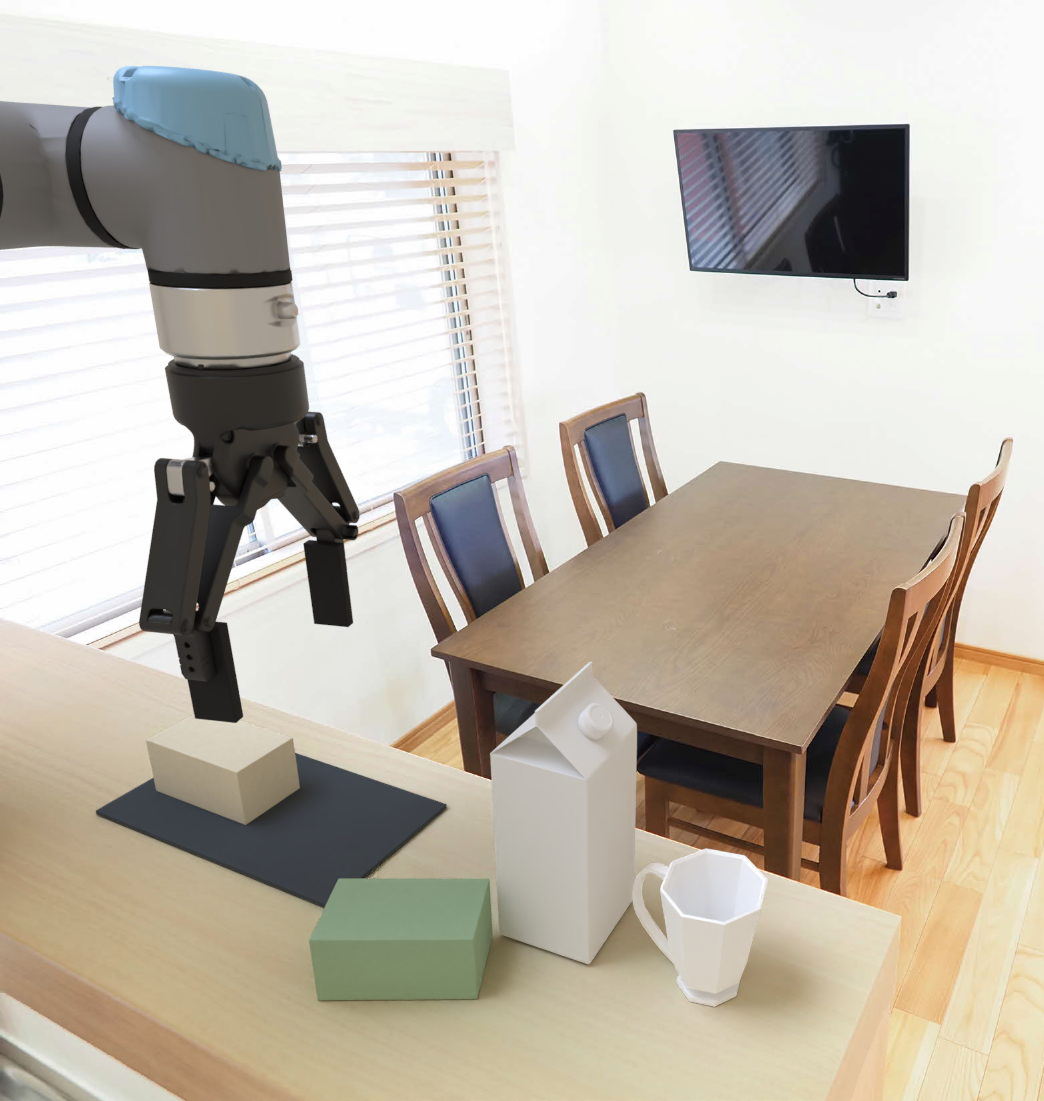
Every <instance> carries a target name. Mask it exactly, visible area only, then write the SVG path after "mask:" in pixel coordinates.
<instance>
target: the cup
mask: <svg viewBox="0 0 1044 1101" xmlns="http://www.w3.org/2000/svg"><path fill="white" fill-rule="evenodd" d="M647 874H654V876H656V877H658V878H659V879H661V881H662V883H661V886H660V888H659V894H660V902H661V908H662V912H663V919H664V926H665V933H666V935H665V934H664V933H663V932H662V930H661V929H660V927H659V926H658V924H657V923H656V922H655V920H654V919H653V917H652V916H651V914H650V912H649V910H648V909H647V907H646V905H645V901H644V897H643V887H644V881H645V879H646V875H647ZM635 875H636V876H635V877H634V884H633V890H632V906H633V910H634V913H635V915H636V917H637V918H638V920H639V922H640V924H641V926H642V927H643V929H644V930H645V931H646V933H647V934H648V935H649V938H651V940H652V941H653V942H654V944H655V945H656V947H658V949H659V950H660V951H661V952H662V953H663V955H664V956H665V957H666V958H667V959H668V960H669V961H670V962H671V963H672V965H673V966H674V969H675V972H676V973H677V974H678V975H677V977H676V986H678V988H679V989H680V991H681V992H682V993H683V995H684V996H685V997H686V999H687V1000H688V1002H691V1003H693V1004H694V1003H696V1004H698V1005H699V1004H700V1005H705V1006H710V1007H714V1008H715V1007H717V1006H719V1005H722V1004H723V1003H725V1002H727V1001H730V1000H731V999H733V998H735V997H737V995H738V991H739V987H740V983H741V979H742V976H743V974H744V971H745V969H746V966H747V964H748V960H749V956H750V952H751V949H752V945H753V941H754V937H755V933H756V929H757V927H758V926H757V925H758V921H759V918H760V914H761V910H762V906H763V903H764V898H765V894H766V892H767V888H768V887H767V886H768V882H769V878H767V877H766V876H765V875H764V873H763V872H762V871H760V870H759V868H758V867H757V866H756V865H755V864H754V863H753V862H752V861H751V860H750V859H749V858H748V857H747V855H744V854H740V853H734V852H728V851H724V850H723V851H722V850H717V849H712V848H703V849H700V850H698V851H695V852H692V853H689V854H688V855H685V856H681V857H680V858H676V859H674V860H672V861H670V863H669V865H666V864H663V863H661V862H651V863H649V864H648V865H647V866H645V867H643V868H642V869H641V870H639V871H638V873H637V874H635Z"/></svg>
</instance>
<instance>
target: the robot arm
mask: <svg viewBox="0 0 1044 1101" xmlns="http://www.w3.org/2000/svg"><path fill="white" fill-rule="evenodd" d="M112 81H113V82H112V84H113V86H112V87H113V97H112V98H111V99H112V102H113V103H112V104H113V105H105V106H104V105H103V106H91V107H89V106H88V107H87V106H75V105H62V104H50V103H49V104H48V103H34V102H19V101H17V102H16V101H4V100H0V251H4V250H13V249H14V250H16V249H26V248H27V249H28V248H38V247H41V248H42V247H66V248H67V247H68V248H69V247H70V248H105V249H106V248H108V249H109V248H110V249H120V250H141V251H142V254H143V258H144V263H145V267H146V270H147V276H148V281H149V282H148V285H149V292H150V297H151V303H152V309H153V310H152V311H153V315H154V321H155V327H156V333H157V334H156V335H157V340H158V346H159V349H160V350H162V351H163V352H164V353H165V354H166V355H169V356H171V357H173V359H171V360H170V361H169V362H168V363H167V365H166V366H165V367H164V372H165V377H166V383H167V389H168V393H169V400H170V406H171V413H172V416H173V418H174V420H175V422H177V423H178V424H179V425H181V426H184V428H186V429H187V430H188V431H189V432H190V433H191V434H192V437H193V451H192V456H191V457H188V458H182V459H181V458H167V457H160V458H158V459H157V460H156V461H155V463H154V465H153V472H154V474H153V475H154V482H155V483H154V484H155V491H156V505H155V511H154V518H153V526H152V532H151V538H150V546H149V550H148V551H149V552H148V559H147V566H146V573H145V579H144V586H143V593H142V597H141V598H142V599H141V606H140V613H139V620H138V625H139V626H138V627H139V629H140V630H141V631H142V632H145V633H146V632H147V633H155V634H157V633H158V634H167V635H173V638H174V642H175V648H176V653H177V657H178V662H179V668H180V672H181V675H182V676H183V678H184V679H185V680H187V684H188V690H189V695H190V700H191V706H192V710H193V714H194V716H195V719H203V720H212V721H222V722H231V723H237V722H238V721H239V720H242V719H243V718H244V713H243V706H242V700H241V695H240V690H239V684H238V676H237V670H236V666H235V661H234V655H233V648H232V643H231V642H232V641H231V637H230V632H229V625H228V622H226V621H217V619H218V615H219V612H220V609H221V605H222V602H223V599H224V595H225V592H226V589H227V585H228V582H229V579H230V576H231V572H232V569H233V565H234V563H235V559H236V556H237V552H238V549H239V546H240V543H241V540H242V535H243V532H244V529H245V528H246V527H247V526H249V525H251V524H252V523H253V522H254V521H255V518H256V516H257V512H258V510H260V509H262V508H264V507H265V506H267V504H268V503H269V502H270V501H272V500H278V502H279V503H280V504H281V505H282V506H283V507H284V508H285V510H286V511H288V512H289V513H290V515H291V516H292V517H293V518H294V519H295V520H296V522H298V523H299V525H300V526H301V527H302V528H303V529H304V530H305V531H306V532H307V533H308V535H310V537H312V538H316V540H315V539H308V540H306V541H305V542H303V552H304V558H305V559H304V560H305V566H306V573H307V581H308V587H309V596H310V603H311V610H312V616H313V617H312V618H313V625H319V626H320V625H322V626H323V625H324V626H330V627H331V626H332V627H341V628H342V627H344V628H349V627H351V625H353V624H354V617H353V608H352V600H351V593H350V591H351V590H350V585H349V575H348V566H347V557H346V548H345V541H356V540H357V538H358V536H359V526H358V525H356V524H357V523H358V522H359V520H360V518H361V516H360V515H361V514H360V513H361V512H360V509H359V507H358V505H357V502H356V500H355V498H354V496H353V493H352V492H351V489H350V487H349V485H348V483H347V480H346V478H345V476H344V473H343V470H342V469H341V467H340V465H339V462H338V460H337V458H336V456H335V453H334V451H333V449H332V447H331V444H330V442H329V438H328V434H327V428H326V424H325V419H324V415H323V414H322V412H319V411H309V410H310V403H309V402H310V401H309V395H308V394H309V393H308V388H307V387H308V386H307V380H306V379H307V377H306V370H305V363H304V361H303V360H301V359H300V357H299V356H297V355H295V354H293V353H292V352H294V351H296V350H297V349H298V348H299V347H300V345H301V337H300V330H299V324H298V316H299V307H298V306H297V304H296V302H295V294H294V287H293V282H292V281H293V272H292V270H291V263H290V253H289V244H288V236H287V227H286V217H285V207H284V198H283V190H282V188H283V187H282V180H281V171H282V168H283V167H282V161H281V159H280V158H279V155H278V151H277V145H276V140H275V135H274V129H273V124H272V119H271V115H270V108H269V102H268V100H267V99H268V98H267V96H266V95H265V93H264V90H262V88H261V87H260V86H259V85H258V84H257V83H256V82H254V81H253V80H252V79H250V78H248V77H246V76H243V75H239V74H235V73H230V72H224V71H217V70H209V69H200V68H190V67H179V66H178V67H177V66H165V65H163V66H162V65H141V66H137V65H126V66H123V67H119V68H118V69H117V70H116V71H115V73H114V75H113V78H112ZM216 499H217V500H218V501H219V502H220V503H221V504H215V501H216ZM334 504H338V505H334ZM197 605H198V608H197Z"/></svg>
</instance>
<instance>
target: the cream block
mask: <svg viewBox="0 0 1044 1101" xmlns="http://www.w3.org/2000/svg"><path fill="white" fill-rule="evenodd" d="M145 744H146V748H147V752H148V758H149V763H150V767H151V772H152V778H154V782H155V787H156V791H158V792H161V793H163V794H166V795H169V796H171V797H174V798H176V799H179V800H182V801H184V802H187V803H189V804H192V805H195V806H197V807H200V808H202V809H205V810H208V811H210V812H213V813H215V814H218V815H221V816H223V817H226V818H228V819H231V820H234V821H236V822H239V823H241V824H244V825H247V824H248V823H250V822H251V821H252V820H254V819H255V818H257V817H258V816H260V815H261V814H263V813H264V812H266V811H267V810H269V809H270V808H271V807H273V806H274V805H276V804H277V803H279V802H280V801H282V800H283V799H285V798H286V797H288V796H289V795H290V794H292V793H293V792H295V791H296V790H298V789H299V788H300V785H299V778H298V771H297V763H296V756H295V753H296V749H295V743H294V737H292V736H289V735H286V734H283V733H280V732H278V731H274V730H271V729H268V728H265V727H261V726H259V725H257V724H253V723H250V722H247V721H244V720H242V719H240V720H239V721H238V722H237V723H231V722H222V721H212V720H203V719H195V716H194V713H193V714H191V715H190V716H187V717H185V718H184V719H182V720H179V721H178V722H176V723H174V724H172V725H170V726H169V727H166V728H165V729H163V730H161V731H159V732H157V733H155V734H153V735H151V736H150V737H148V738H146V739H145Z"/></svg>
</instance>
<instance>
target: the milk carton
mask: <svg viewBox="0 0 1044 1101" xmlns="http://www.w3.org/2000/svg"><path fill="white" fill-rule="evenodd" d="M593 663H594V662H593V661H589V662H588V663H587V664H585V665H584V666H583V667H581V669H579V671H577V672H576V673H575V674H574V675H573V676H572V677H570V679H568V680H567V681H566V682H565V683H564V684H562V686H561V687H560V688H558V689H557V690H556V691H555V692H554V693H552V695H550V697H549V698H547V699H546V700H545V701H544V702H542V704H541V705H540V706H538V708H536V709H535V710H534V713H533V714H531V715H530V716H529V717H528V719H526V720H525V721H524V722H523V723H522V724H521V725H519V726H518V728H516V729H515V730H514V731H513V732H512V733H511V734H509V735H508V736H507V737H506V738H505V739H504V740H503V741H502V742H501V743H500V744H498V746H496V747H495V748H494V749H493V750H492V751H491V752H489V758H490V776H491V795H492V796H491V798H492V799H491V800H492V816H493V835H494V837H493V838H494V857H495V858H494V859H495V876H496V878H495V879H496V880H495V881H496V898H497V899H496V900H497V916H498V917H497V918H498V919H497V920H498V933H499V934H500V935H501V936H505V937H507V938H510V939H512V940H515V941H519V942H521V943H524V944H527V945H530V946H533V947H536V948H539V949H540V950H541V949H542V950H544V951H547V952H551V953H553V954H556V955H559V956H562V957H565V958H568V959H571V960H574V961H577V962H580V963H583V964H586V965H590V964H591V963H592V962H593V960H594V959H595V957H596V956H597V954H598V953H599V951H600V950H601V948H602V947H603V945H604V944H605V942H606V941H607V939H608V938H609V936H610V935H611V933H612V932H613V930H614V929H615V927H616V926H617V925H618V923H619V921H620V920H621V919H622V917H623V915H624V914H625V912H626V911H627V909H628V908H629V906H630V905H631V904H632V903H633V901H632V890H633V884H634V881H635V878H636V876H635V875H636V874H635V871H636V867H635V866H636V822H637V820H636V819H637V818H636V817H637V812H636V809H637V764H638V763H637V759H638V758H637V757H638V724H637V721H635V720H634V718H632V716H631V715H629V713H628V712H627V711H626V710H625V709H624V708H623V706H621V705H620V703H618V700H617V701H616V699H615V698H614V697H613V696H612V695H611V694H610V693H609V691H607V689H606V688H605V687H604V686H603V685H602V684H601V683H600V681H599V680H598V679H596V677H595V676H594V675H593V673H594V672H593V670H594V669H593V667H594V666H593Z"/></svg>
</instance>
